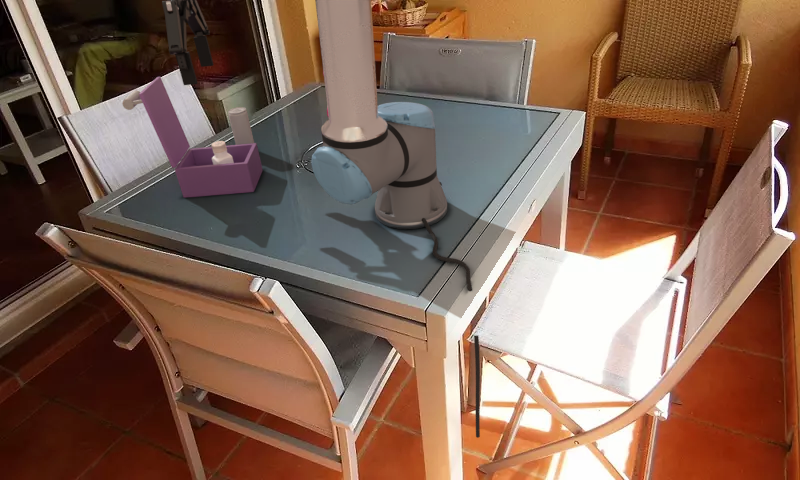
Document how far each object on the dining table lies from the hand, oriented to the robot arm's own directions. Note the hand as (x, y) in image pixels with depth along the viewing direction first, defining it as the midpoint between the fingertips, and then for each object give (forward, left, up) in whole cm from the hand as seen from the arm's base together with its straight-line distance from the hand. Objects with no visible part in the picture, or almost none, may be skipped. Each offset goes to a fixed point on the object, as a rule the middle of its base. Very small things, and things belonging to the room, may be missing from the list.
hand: (199, 74), depth 126 cm
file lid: (0, +10, -10) cm, 14 cm away
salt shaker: (0, 0, -26) cm, 26 cm away
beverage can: (+18, -1, -27) cm, 32 cm away
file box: (0, +1, -27) cm, 27 cm away
